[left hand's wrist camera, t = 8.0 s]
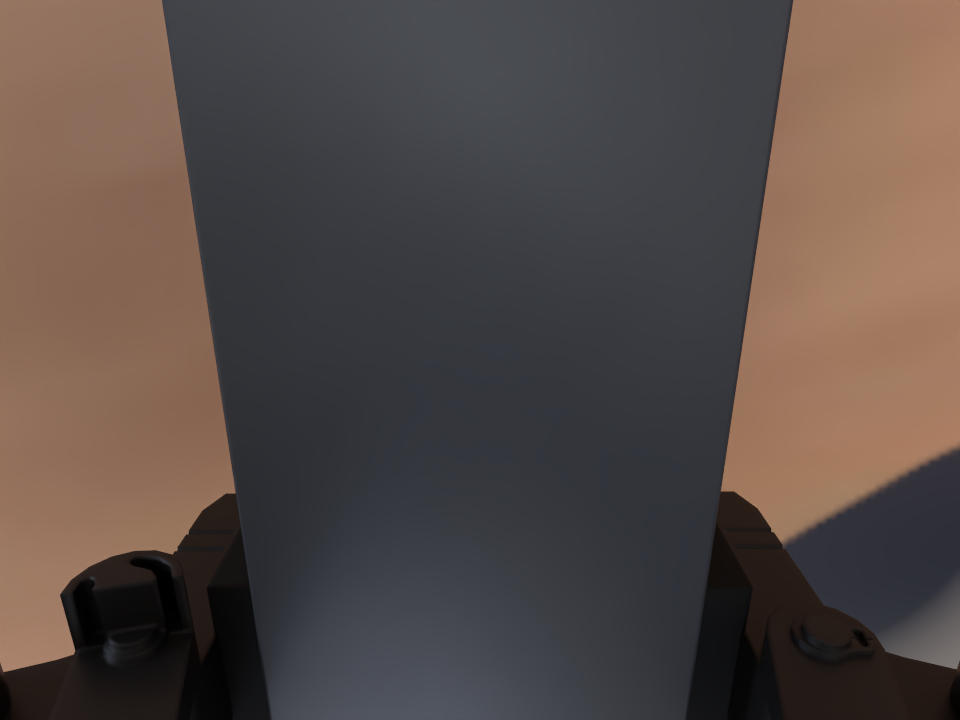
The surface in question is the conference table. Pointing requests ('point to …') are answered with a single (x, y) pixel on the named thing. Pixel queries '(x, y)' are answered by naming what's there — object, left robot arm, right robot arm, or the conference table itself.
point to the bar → (477, 335)
